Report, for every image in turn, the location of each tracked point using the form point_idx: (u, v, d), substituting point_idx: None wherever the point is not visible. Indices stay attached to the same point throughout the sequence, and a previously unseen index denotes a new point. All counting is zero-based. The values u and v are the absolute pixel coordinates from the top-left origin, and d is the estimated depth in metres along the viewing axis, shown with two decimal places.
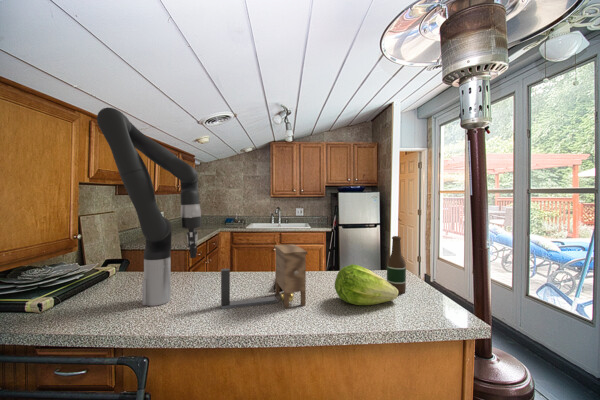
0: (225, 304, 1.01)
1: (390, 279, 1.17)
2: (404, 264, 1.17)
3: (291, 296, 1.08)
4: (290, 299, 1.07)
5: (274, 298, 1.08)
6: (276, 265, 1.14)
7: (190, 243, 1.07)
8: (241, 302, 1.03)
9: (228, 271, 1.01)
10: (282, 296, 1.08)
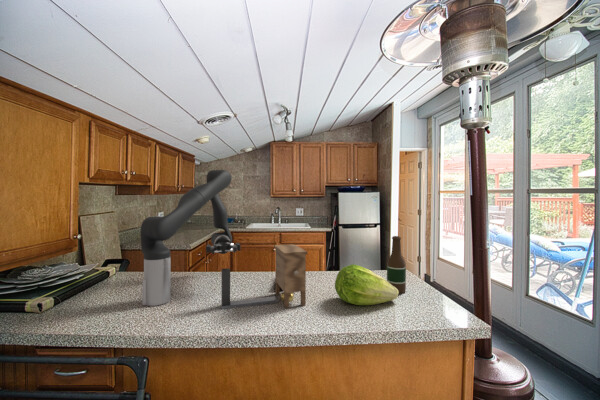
0: (225, 304, 1.01)
1: (390, 279, 1.17)
2: (404, 264, 1.17)
3: (291, 296, 1.08)
4: (290, 299, 1.07)
5: (274, 298, 1.08)
6: (276, 265, 1.14)
7: (232, 246, 1.19)
8: (241, 302, 1.03)
9: (228, 271, 1.01)
10: (282, 296, 1.08)
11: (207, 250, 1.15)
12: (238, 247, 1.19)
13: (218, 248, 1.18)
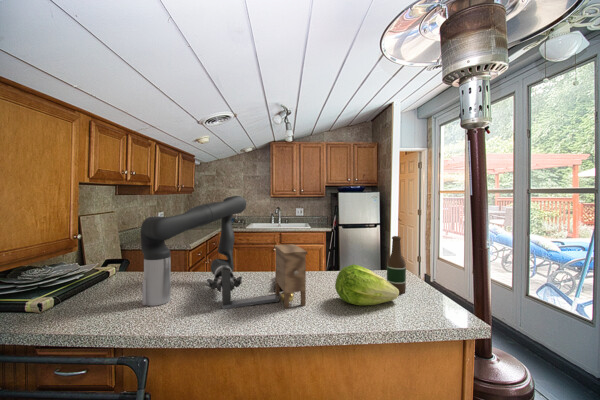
0: (226, 304, 1.01)
1: (390, 279, 1.17)
2: (404, 264, 1.17)
3: (291, 296, 1.08)
4: (290, 299, 1.07)
5: (275, 296, 1.08)
6: (276, 265, 1.14)
7: None
8: (242, 301, 1.03)
9: (229, 271, 1.01)
10: (282, 296, 1.08)
11: (213, 286, 1.02)
12: (236, 283, 1.05)
13: None
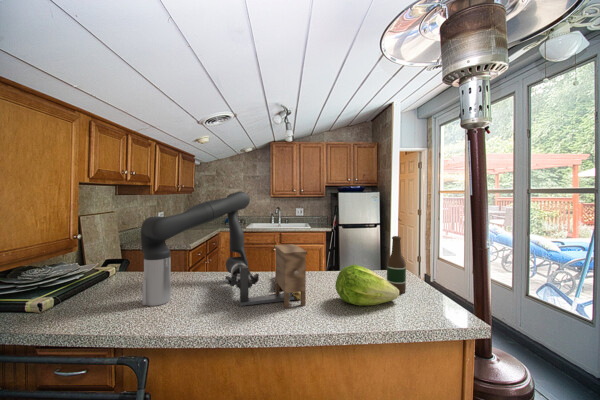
0: (244, 300, 1.03)
1: (390, 279, 1.17)
2: (404, 264, 1.17)
3: None
4: None
5: (291, 295, 1.10)
6: (276, 265, 1.14)
7: None
8: (259, 299, 1.06)
9: (247, 268, 1.03)
10: (294, 294, 1.09)
11: (233, 283, 1.05)
12: (253, 280, 1.07)
13: None
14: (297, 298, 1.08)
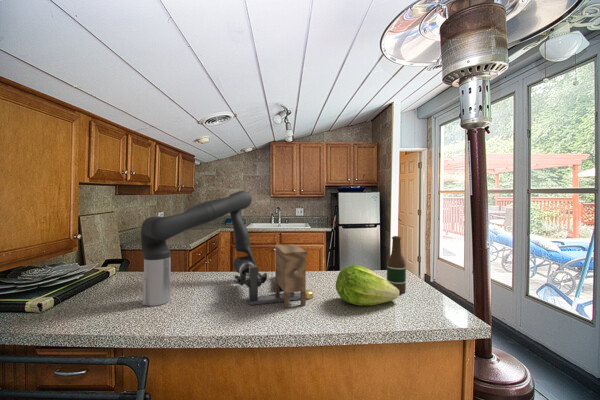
0: (253, 300, 1.04)
1: (390, 279, 1.17)
2: (404, 264, 1.17)
3: (311, 294, 1.10)
4: (310, 297, 1.10)
5: (299, 294, 1.11)
6: (276, 265, 1.14)
7: None
8: (268, 298, 1.07)
9: (256, 268, 1.04)
10: None
11: (242, 282, 1.06)
12: (262, 280, 1.08)
13: None
14: None
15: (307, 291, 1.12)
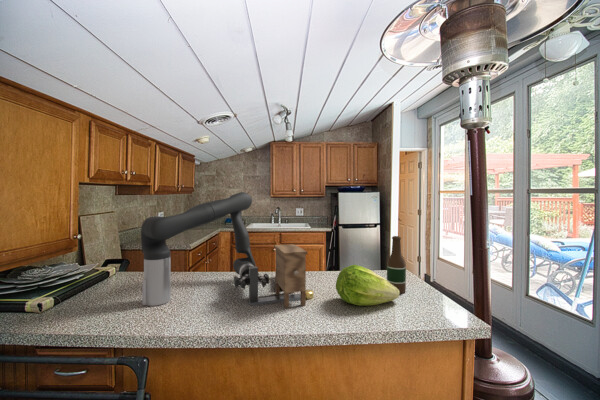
0: (254, 301, 1.04)
1: (390, 279, 1.17)
2: (404, 264, 1.17)
3: (311, 294, 1.10)
4: (310, 297, 1.10)
5: (299, 295, 1.11)
6: (276, 265, 1.14)
7: (260, 278, 1.09)
8: (268, 299, 1.07)
9: (256, 269, 1.04)
10: None
11: (236, 284, 1.06)
12: (266, 280, 1.09)
13: (247, 281, 1.09)
14: (306, 297, 1.10)
15: (307, 291, 1.12)
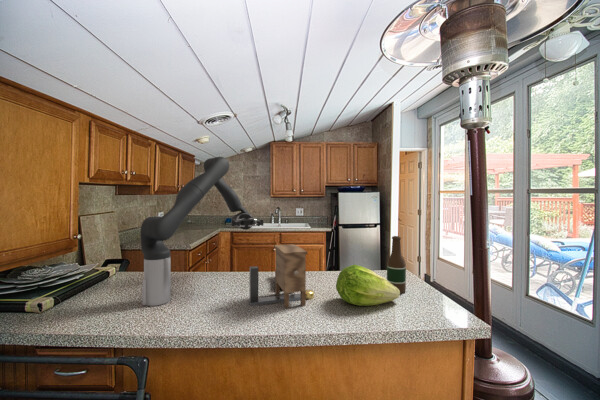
0: (254, 301, 1.04)
1: (390, 279, 1.17)
2: (404, 264, 1.17)
3: (312, 294, 1.10)
4: (311, 297, 1.10)
5: (300, 295, 1.11)
6: (276, 265, 1.14)
7: (255, 221, 1.24)
8: (269, 299, 1.07)
9: (257, 269, 1.04)
10: None
11: (232, 223, 1.20)
12: (261, 222, 1.23)
13: (242, 223, 1.23)
14: (306, 297, 1.10)
15: (308, 291, 1.12)
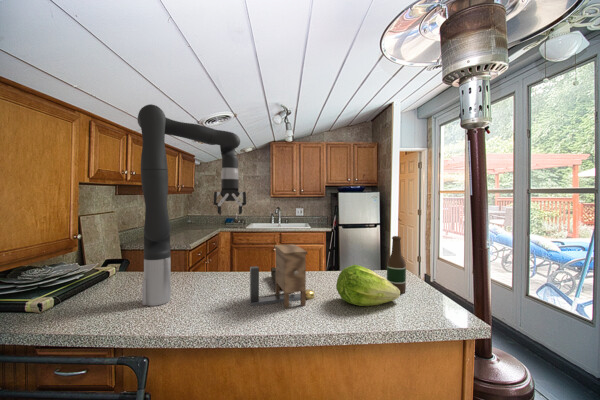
0: (254, 301, 1.04)
1: (390, 279, 1.17)
2: (404, 264, 1.17)
3: (312, 294, 1.10)
4: (311, 297, 1.10)
5: (300, 295, 1.11)
6: (276, 265, 1.14)
7: None
8: (269, 299, 1.07)
9: (257, 269, 1.04)
10: None
11: (214, 204, 1.21)
12: None
13: None
14: (306, 297, 1.10)
15: (308, 291, 1.12)
